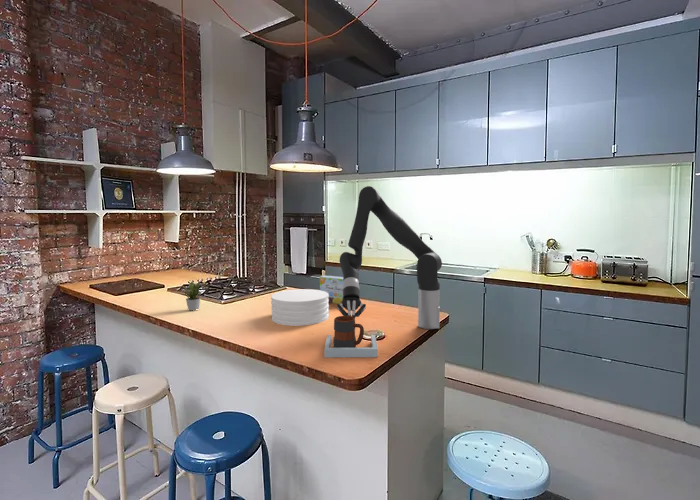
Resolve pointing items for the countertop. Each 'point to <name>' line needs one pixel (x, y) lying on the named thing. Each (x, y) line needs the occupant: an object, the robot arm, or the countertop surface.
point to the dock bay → (351, 350)
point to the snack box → (332, 288)
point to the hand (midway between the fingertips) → (351, 324)
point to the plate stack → (300, 307)
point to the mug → (346, 332)
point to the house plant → (193, 296)
